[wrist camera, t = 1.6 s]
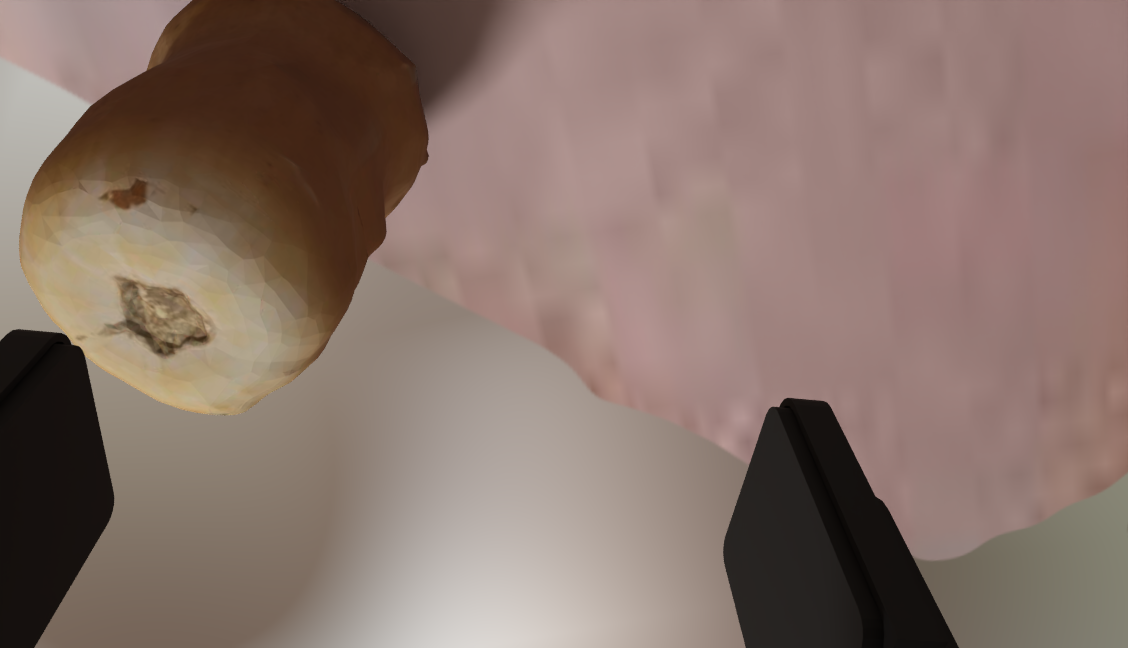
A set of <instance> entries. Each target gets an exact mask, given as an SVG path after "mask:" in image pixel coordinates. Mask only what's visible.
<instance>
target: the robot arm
mask: <svg viewBox="0 0 1128 648" xmlns="http://www.w3.org/2000/svg"><path fill="white" fill-rule="evenodd" d="M113 506H114V492H113V487H112V483H111V478H110V473H109V469H108V464H107V459H106V454H105V450H104V445H103V440H102V436H101V431H100V426H99V422H98V417H97V412H96V407H95V402H94V398H93V393H92V388H91V383H90V379H89V374H88V369H87V364H86V360H85V355H84V352H83V350H82V349H81V347H79V346H77V345H71V342H70V340H69V338H68V337H67V336H66V335H64V334H62V333H54V332H43V331H31V330H21V329H18V330H12V331H11V332H10V333H8V334H7V335H6V336H5V337H4V338H3V339H2V340H1V341H0V648H34V647H35V645H36V644H37V642H38V640H39V639H40V637H41V635H42V634H43V632H44V630H45V629H46V627H47V625H48V623H49V622H50V620H51V619H52V617H53V615H54V613H55V612H56V610H57V608H58V607H59V605H60V603H61V602H62V600H63V598H64V597H65V595H66V593H67V591H68V590H69V588H70V586H71V585H72V583H73V581H74V580H75V577H76V576H77V575H78V573H79V571H80V570H81V568H82V566H83V564H84V563H85V561H86V559H87V558H88V556H89V554H90V553H91V551H92V549H93V548H94V546H95V544H96V542H97V541H98V539H99V537H100V536H101V534H102V532H103V531H104V529H105V527H106V526H107V524H108V522H109V520H110V518H111V514H112V511H113ZM723 550H724V551H723V554H724V555H723V556H724V564H725V568H726V572H727V575H728V580H729V584H730V587H731V591H732V595H733V599H734V603H735V607H736V611H737V615H738V619H739V623H740V627H741V630H742V634H743V638H744V642H745V646H746V648H959V647H958V645H957V643H956V641H955V639H954V637H953V635H952V633H951V632H950V630H949V628H948V626H947V624H946V622H945V620H944V618H943V616H942V614H941V612H940V610H939V608H938V606H937V604H936V602H935V600H934V598H933V596H932V594H931V592H930V590H929V588H928V586H927V584H926V583H925V581H924V579H923V577H922V575H921V573H920V571H919V569H918V567H917V565H916V563H915V561H914V559H913V557H912V555H911V553H910V551H909V549H908V547H907V545H906V543H905V541H904V539H903V537H902V535H901V533H900V531H899V529H898V527H897V526H896V524H895V522H894V520H893V518H892V516H891V514H890V512H889V510H888V508H887V507H886V505H885V504H884V503H883V501H882V500H880V499H878V498H877V497H875V495H874V493H873V491H872V489H871V487H870V485H869V483H868V481H867V479H866V477H865V475H864V473H863V471H862V469H861V467H860V465H859V463H858V461H857V459H856V457H855V455H854V453H853V451H852V449H851V447H850V445H849V443H848V441H847V439H846V437H845V435H844V433H843V431H842V429H841V427H840V425H839V423H838V421H837V419H836V417H835V415H834V413H833V411H832V409H831V407H830V406H829V404H828V403H827V402H825V401H817V400H806V399H794V398H786V399H784V400H783V402H782V403H781V405H780V407H771V408H770V409H769V410H768V412H767V414H766V417H765V420H764V423H763V426H762V429H761V432H760V435H759V438H758V441H757V444H756V447H755V450H754V453H753V456H752V459H751V462H750V465H749V468H748V471H747V474H746V477H745V480H744V483H743V486H742V489H741V492H740V495H739V498H738V500H737V503H736V506H735V510H734V513H733V515H732V518H731V521H730V524H729V527H728V531H727V533H726V536H725V540H724V549H723Z"/></svg>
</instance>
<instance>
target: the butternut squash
mask: <svg viewBox="0 0 1128 648" xmlns="http://www.w3.org/2000/svg"><path fill="white" fill-rule="evenodd" d="M428 140H429V138H428V129H427V124H426V120H425V116H424V111H423V107H422V103H421V99H420V94H419V88H418V82H417V73H416V66H415V65H414V63H412V62H411V61H410V60H409V59H408V58H407V57H406V56H405V55H404V54H403V53H401V52H400V51H399V50H398V49H397V48H396V47H395V46H394V45H393V44H392V43H391V42H389V41H388V40H387V39H386V38H385V37H384V36H383V35H382V34H381V33H380V32H379V31H377V30H376V29H375V28H374V27H373V26H372V25H370V24H369V23H368V22H367V21H366V20H364V19H363V18H362V17H360V16H359V15H358V14H356V13H355V12H353V11H352V10H350V9H349V8H347V7H346V6H344V5H342V4H341V3H339V2H337V1H335V0H192V1H191V2H190V3H189V4H188V5H187V6H186V7H185V8H183V9H182V10H181V11H180V12H179V13H178V14H177V15H176V16H175V17H174V18H173V19H172V20H171V21H170V22H169V23H168V24H167V26H166V27H165V29H164V31H163V33H162V34H161V36H160V38H159V40H158V42H157V44H156V46H155V48H154V50H153V52H152V55H151V58H150V62H149V65H148V68H147V71H145V72H144V73H142V74H140V75H138V76H136V77H135V78H133V79H131V80H129V81H128V82H126V83H124V84H122V85H120V86H119V87H117V88H115V89H113V90H112V91H110V92H109V93H108V94H106V95H105V96H104V97H102V98H101V99H100V100H98V101H97V102H96V103H94V104H93V105H92V106H90V107H89V109H88V110H87V111H86V112H85V113H84V114H83V115H82V117H81V118H80V119H79V120H78V121H77V122H76V124H75V125H74V126H73V128H72V129H71V130H70V132H69V133H68V134H67V135H66V136H65V138H64V139H63V140H62V141H61V142H60V143H59V145H58V146H57V147H56V148H55V149H54V151H52V153H51V154H50V155H49V156H48V157H47V159H46V160H45V161H44V163H43V164H42V166H41V167H40V169H39V171H38V172H37V174H36V175H35V177H34V179H33V181H32V184H31V186H30V189H29V191H28V194H27V197H26V200H25V204H24V208H23V215H22V222H21V229H20V237H19V239H20V240H19V252H20V262H21V266H22V269H23V271H24V274H25V276H26V278H27V281H28V283H29V285H30V286H31V288H32V290H33V291H34V293H35V295H36V297H37V298H38V300H39V301H40V304H41V305H42V307H43V309H44V310H45V312H46V313H47V314H48V315H49V317H50V318H51V319H52V321H54V323H56V324H57V325H58V326H59V327H60V328H61V329H62V330H63V331H64V332H65V333H66V334H67V336H68V337H69V339H70V340H71V341H72V343H73V344H74V345H77V346H79V347H81V349H82V350H83V352H84V355H85V356H86V357H87V358H89V359H90V360H91V361H92V362H94V363H95V364H96V365H97V366H99V367H100V368H102V369H103V370H105V371H106V372H108V373H109V374H111V375H113V376H115V377H117V378H119V379H121V380H123V381H124V382H126V383H128V384H129V385H131V386H133V387H134V388H136V389H138V390H139V391H141V392H143V393H145V394H146V395H148V396H150V397H152V398H154V399H155V400H157V401H160V402H162V403H165V404H168V405H171V406H173V407H176V408H180V409H183V410H187V411H192V412H197V413H204V414H210V415H235V414H239V413H243V412H245V411H247V410H248V409H250V408H251V407H252V406H254V405H255V404H257V403H258V402H259V401H260V400H261V399H262V398H264V397H265V396H266V395H268V394H269V393H271V392H273V391H275V390H277V389H279V388H281V387H283V386H285V385H286V384H288V383H290V382H291V381H292V380H294V379H295V378H296V377H297V376H298V375H300V374H301V373H302V372H303V371H304V370H305V369H306V368H307V367H308V366H309V365H310V364H311V363H313V362H314V361H315V360H316V359H317V358H318V357H319V355H320V354H321V353H322V351H323V350H324V348H325V347H326V345H327V343H328V341H329V339H330V337H331V335H332V334H333V332H334V331H335V329H336V328H337V326H338V324H339V323H340V321H341V319H342V318H343V316H344V314H345V313H346V311H347V309H348V307H349V305H350V302H351V300H352V297H353V294H354V290H355V289H356V287H357V285H358V283H359V281H360V278H361V276H362V273H363V271H364V268H365V265H366V262H367V259H368V257H369V256H370V255H371V254H372V253H373V252H374V251H375V250H376V249H377V248H378V247H379V246H380V245H381V244H382V243H383V241H384V239H385V236H386V221H385V218H386V217H387V216H388V215H389V214H390V213H391V212H392V211H393V210H394V209H395V208H396V207H397V205H398V204H399V203H400V201H401V200H402V199H403V197H404V196H405V195H406V193H407V192H408V191H409V190H410V188H411V187H412V185H413V183H414V182H415V179H416V177H417V175H418V172H419V170H420V167H421V166H422V165H424V164H426V163H427V160H428V157H429V155H428V152H427V145H428Z"/></svg>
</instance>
